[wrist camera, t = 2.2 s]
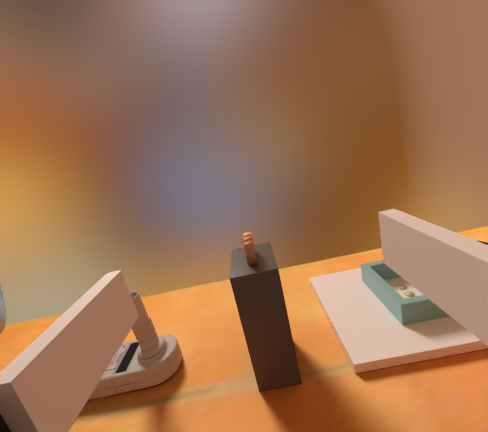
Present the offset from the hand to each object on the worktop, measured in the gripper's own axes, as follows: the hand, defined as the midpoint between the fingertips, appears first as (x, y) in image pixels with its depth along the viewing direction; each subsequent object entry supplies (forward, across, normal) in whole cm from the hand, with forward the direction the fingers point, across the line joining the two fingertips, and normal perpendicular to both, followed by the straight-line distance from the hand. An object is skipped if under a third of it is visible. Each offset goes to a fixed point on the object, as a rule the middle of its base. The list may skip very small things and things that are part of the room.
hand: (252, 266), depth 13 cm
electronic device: (+13, -19, -16) cm, 28 cm away
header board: (+16, +16, -16) cm, 28 cm away
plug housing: (+10, -1, -16) cm, 19 cm away
